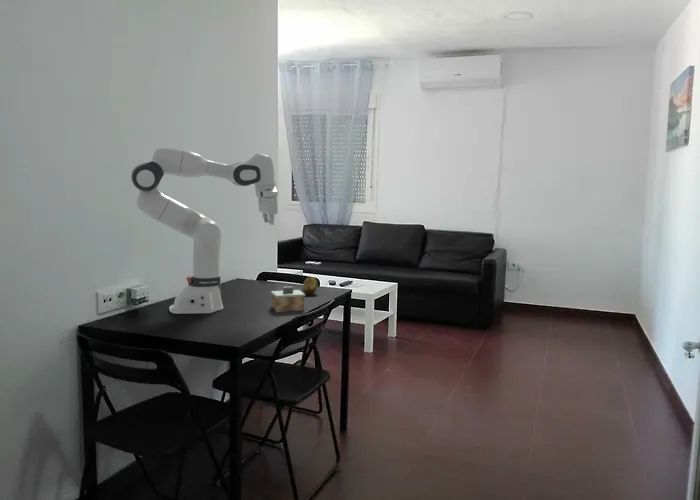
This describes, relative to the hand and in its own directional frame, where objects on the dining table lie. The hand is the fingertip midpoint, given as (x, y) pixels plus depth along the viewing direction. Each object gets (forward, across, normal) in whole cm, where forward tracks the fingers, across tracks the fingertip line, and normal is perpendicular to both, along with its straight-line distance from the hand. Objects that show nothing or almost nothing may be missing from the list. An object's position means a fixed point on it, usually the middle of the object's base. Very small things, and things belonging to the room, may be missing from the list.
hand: (269, 223), depth 255 cm
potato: (+40, -20, +21) cm, 49 cm away
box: (+37, +10, +2) cm, 39 cm away
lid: (+32, +10, +3) cm, 33 cm away
